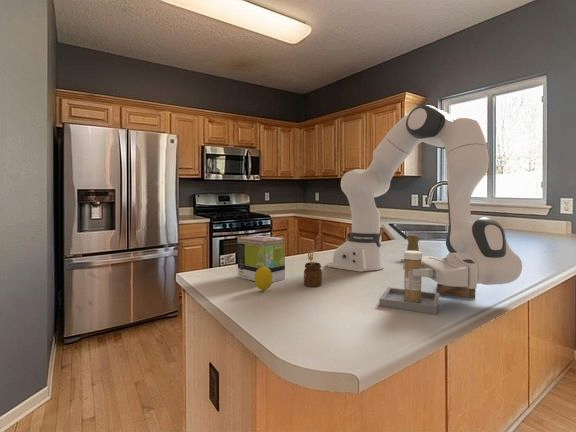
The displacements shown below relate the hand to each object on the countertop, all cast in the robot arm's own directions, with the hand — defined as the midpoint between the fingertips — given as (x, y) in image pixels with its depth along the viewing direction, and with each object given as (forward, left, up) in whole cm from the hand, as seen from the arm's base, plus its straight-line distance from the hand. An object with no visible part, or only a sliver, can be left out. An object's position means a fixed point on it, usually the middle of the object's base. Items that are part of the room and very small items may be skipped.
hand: (407, 269), depth 91 cm
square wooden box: (+12, +19, -9) cm, 24 cm away
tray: (+1, +1, -9) cm, 9 cm away
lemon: (-41, -7, -10) cm, 43 cm away
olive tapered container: (-6, +64, -10) cm, 65 cm away
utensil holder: (-30, +6, -10) cm, 32 cm away
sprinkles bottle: (+1, +1, -9) cm, 9 cm away
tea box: (-50, +6, -10) cm, 52 cm away
